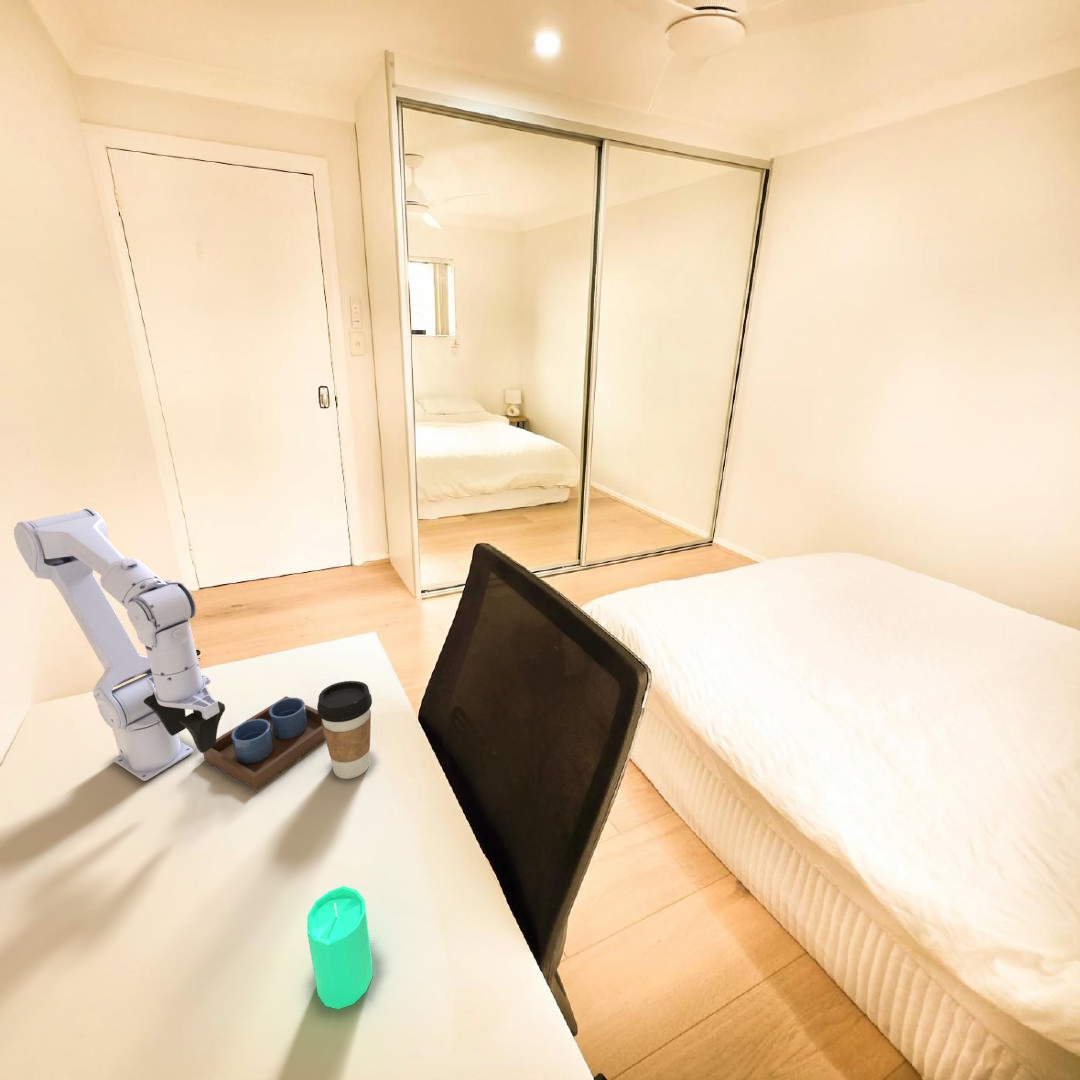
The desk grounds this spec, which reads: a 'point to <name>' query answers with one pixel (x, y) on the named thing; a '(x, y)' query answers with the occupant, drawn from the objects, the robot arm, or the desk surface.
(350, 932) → the candle
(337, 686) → the coffee cup
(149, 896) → the desk surface
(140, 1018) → the desk surface
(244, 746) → the rice bowl
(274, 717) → the rice bowl
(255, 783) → the tray
